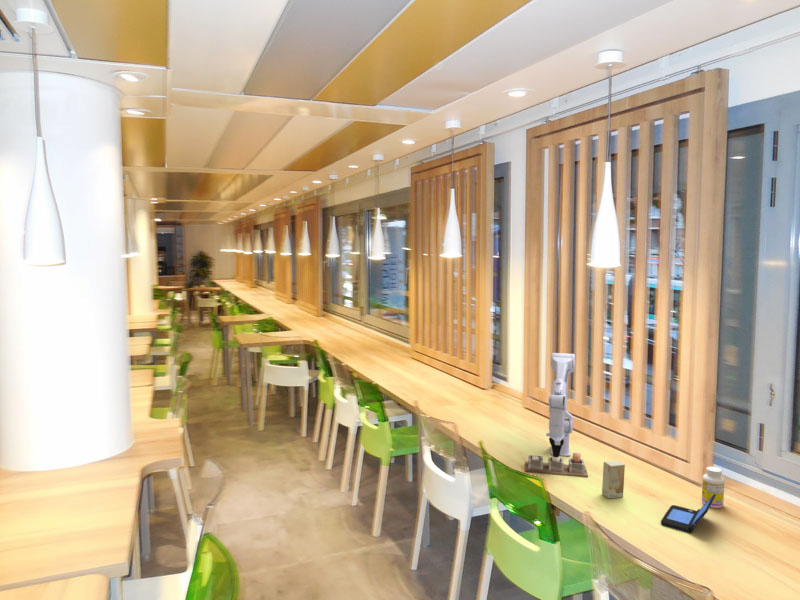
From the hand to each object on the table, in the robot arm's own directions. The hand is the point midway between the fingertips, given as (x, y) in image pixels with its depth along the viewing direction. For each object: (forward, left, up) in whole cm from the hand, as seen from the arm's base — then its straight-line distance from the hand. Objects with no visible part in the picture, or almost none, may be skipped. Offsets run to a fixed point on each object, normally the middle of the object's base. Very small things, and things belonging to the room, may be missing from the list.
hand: (555, 456), depth 226 cm
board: (0, 0, -6) cm, 6 cm away
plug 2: (0, 0, -3) cm, 3 cm away
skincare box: (+20, +19, -6) cm, 28 cm away
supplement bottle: (+20, +52, -6) cm, 56 cm away
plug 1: (0, -8, -5) cm, 9 cm away
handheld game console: (+35, +40, -6) cm, 54 cm away
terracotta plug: (0, +8, -2) cm, 8 cm away
